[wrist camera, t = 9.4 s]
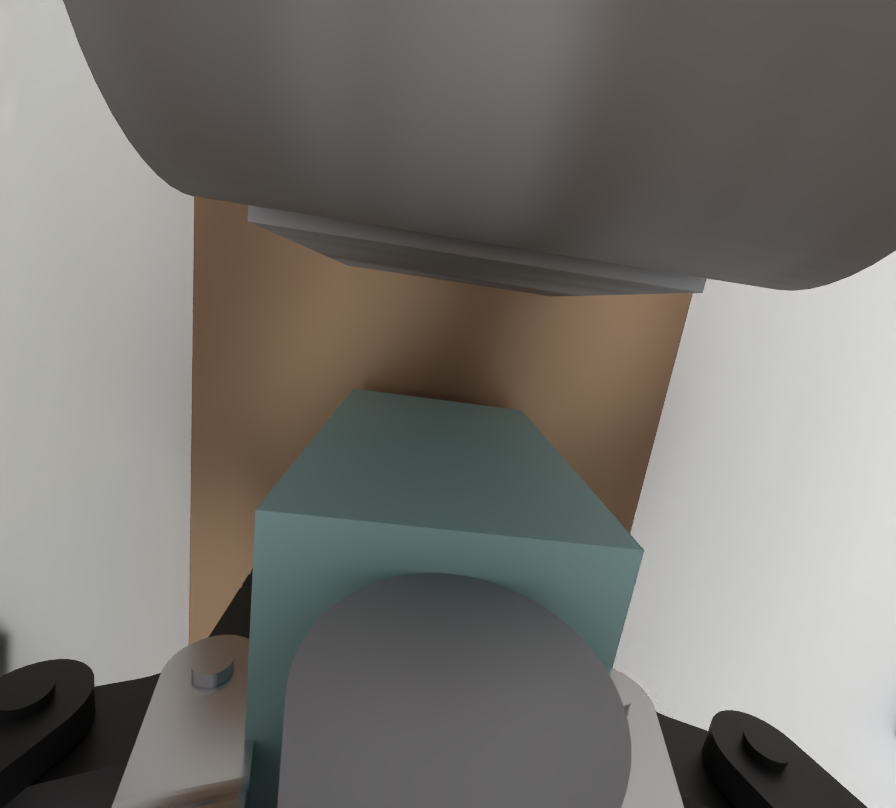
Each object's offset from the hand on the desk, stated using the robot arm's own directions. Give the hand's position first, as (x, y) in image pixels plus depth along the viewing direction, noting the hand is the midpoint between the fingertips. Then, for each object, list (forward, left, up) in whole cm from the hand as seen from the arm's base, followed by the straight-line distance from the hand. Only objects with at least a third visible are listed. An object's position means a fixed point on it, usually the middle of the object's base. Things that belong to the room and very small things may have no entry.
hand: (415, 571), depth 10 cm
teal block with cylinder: (0, 0, -1) cm, 1 cm away
